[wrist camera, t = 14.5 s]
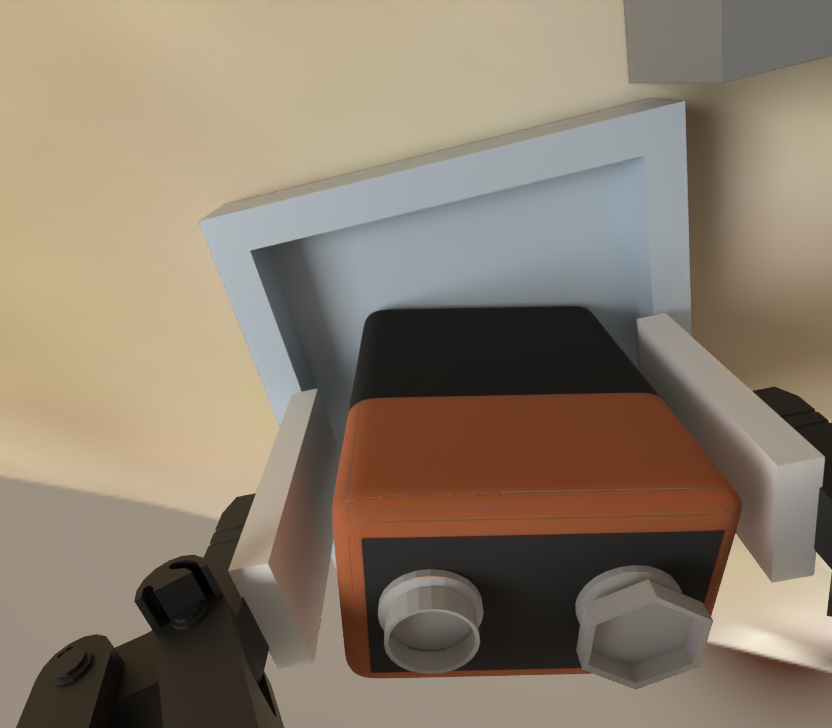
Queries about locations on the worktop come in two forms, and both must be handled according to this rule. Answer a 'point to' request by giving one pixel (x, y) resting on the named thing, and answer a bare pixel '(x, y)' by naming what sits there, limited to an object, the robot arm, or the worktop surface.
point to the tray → (462, 243)
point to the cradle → (722, 38)
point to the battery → (521, 504)
